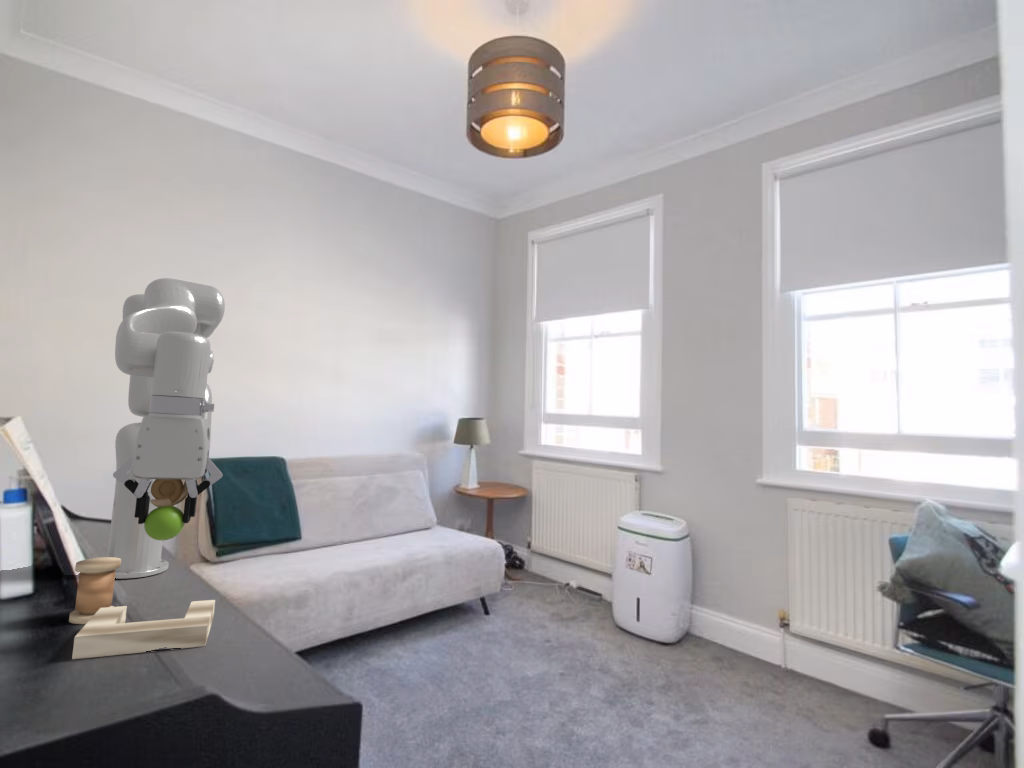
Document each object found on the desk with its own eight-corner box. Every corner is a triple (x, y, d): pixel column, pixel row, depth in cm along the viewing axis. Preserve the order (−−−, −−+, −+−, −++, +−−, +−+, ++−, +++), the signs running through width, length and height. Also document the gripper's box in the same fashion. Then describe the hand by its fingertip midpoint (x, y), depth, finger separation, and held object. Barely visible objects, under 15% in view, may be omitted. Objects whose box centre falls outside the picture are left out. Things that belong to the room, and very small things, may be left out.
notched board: (98, 627, 84) (100, 607, 84) (213, 617, 90) (215, 599, 90) (71, 659, 73) (74, 636, 73) (205, 646, 79) (207, 625, 79)
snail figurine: (195, 539, 86) (204, 465, 87) (151, 545, 80) (161, 466, 81) (179, 534, 89) (188, 462, 90) (136, 539, 83) (145, 462, 84)
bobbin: (75, 612, 89) (82, 558, 90) (119, 609, 91) (125, 556, 92) (63, 625, 83) (70, 567, 84) (109, 622, 86) (116, 565, 87)
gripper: (237, 412, 93) (227, 517, 92) (119, 405, 86) (106, 518, 85) (234, 411, 86) (223, 525, 85) (106, 404, 79) (91, 528, 78)
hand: (165, 520), depth 85 cm, fingers closed on snail figurine, 5 cm apart
